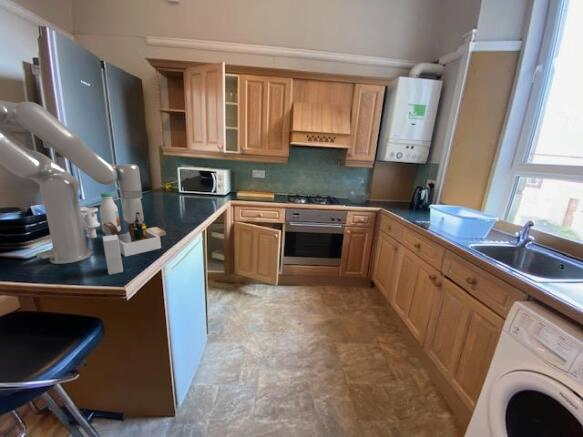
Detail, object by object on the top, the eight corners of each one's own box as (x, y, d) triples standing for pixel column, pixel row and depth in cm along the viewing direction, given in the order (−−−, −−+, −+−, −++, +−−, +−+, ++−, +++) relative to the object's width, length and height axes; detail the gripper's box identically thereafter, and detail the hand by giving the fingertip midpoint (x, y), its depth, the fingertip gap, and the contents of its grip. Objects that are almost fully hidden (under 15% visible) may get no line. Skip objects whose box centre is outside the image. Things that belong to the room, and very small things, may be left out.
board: (134, 241, 117) (134, 237, 117) (127, 235, 124) (126, 232, 124) (165, 234, 127) (165, 231, 127) (156, 230, 134) (156, 226, 134)
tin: (121, 244, 112) (118, 226, 110) (113, 246, 110) (110, 227, 108) (112, 237, 122) (110, 220, 120) (104, 238, 120) (102, 221, 118)
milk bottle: (114, 233, 127) (108, 194, 122) (99, 233, 127) (92, 194, 122) (124, 229, 134) (119, 192, 130) (109, 229, 135) (104, 191, 130)
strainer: (82, 236, 121) (77, 206, 118) (100, 234, 126) (96, 204, 122) (83, 240, 116) (78, 208, 113) (102, 237, 121) (98, 206, 117)
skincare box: (107, 268, 88) (102, 236, 85) (121, 266, 91) (117, 234, 88) (108, 275, 84) (102, 240, 81) (123, 272, 86) (118, 238, 83)
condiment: (151, 247, 109) (148, 220, 107) (128, 252, 104) (124, 224, 101) (146, 243, 115) (143, 217, 112) (124, 247, 109) (120, 220, 106)
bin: (125, 256, 99) (123, 244, 98) (114, 247, 109) (112, 236, 108) (161, 248, 109) (160, 237, 108) (148, 240, 119) (147, 230, 117)
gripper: (114, 193, 106) (120, 234, 111) (127, 198, 95) (133, 243, 100) (134, 191, 112) (139, 230, 116) (149, 196, 101) (153, 239, 105)
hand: (136, 236), depth 108 cm, fingers closed on condiment, 6 cm apart
